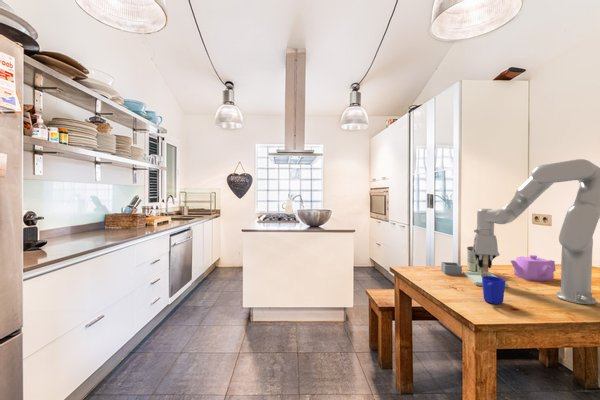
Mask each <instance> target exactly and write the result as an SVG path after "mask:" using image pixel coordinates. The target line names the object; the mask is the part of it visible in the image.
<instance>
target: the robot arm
mask: <svg viewBox="0 0 600 400" xmlns="http://www.w3.org/2000/svg"><path fill="white" fill-rule="evenodd" d="M572 181H578V183H579V188H578V190H577V192H576V196H575V200H574V202H573V205H570V207H569V208H568V209H567V211H566V214H565V217H564V220H563V223H562V225H561V229H560V232H559V235H558V242H559V243H560V245H561V261H560V267H561V268H560V291H558V292H556V293H555V296H556V297H557V298H559V299H560V300H563V301H566V302H570V303H573V304H574V303H575V304H579V305H596V304H597V300H596V298H594V297H593V292H592V274H593V273H592V270H593V269H592V267H593V248H594V247H593V246H594V239H593V236H594V234H595V232H596V231H595V230H596V229H597V228H596V227H597V225H598V223H599V220H600V167H599V166H598V165H596V164H595V163H593V162H591V161H590V160H587V159H580V158H577V159H571V160H565V161H559V162H553V163H552V162H551V163H547V164H541V165H538V166H536V167H535V168H533V169H532V171H531V175H530V176H529V178H528V179H526V180H525V181H524V183H522V184H521V185H520V186H519V187H518V188H517V189H516V191H515V193H514V196H513V197H512V199H511V200H510V201H509V202H508V203H507V204H506V205H505V206H504V207H503V208H499V209H492V208H479V209H477V211H476V229H474V230H473V232H474V233H476V234H475V235H474V240H473V246H472V247H473V250H472V251H471V254H472V255H474V256H475V257H477V259H478V265H479V267H481V268H482V267H483V260H482V254H483V255H489V261H488V269H491V268H492V265H493V263H492V261H493V260H494V259H495V258H497V257H499V256H500V255H501V254H500V253H499V251H498V247H499V246H498V240H497V235H496V234H495V225H496V224H497V225H507V224H510V223H512V222H513V221H515V220H516V219H518V217H520V216H521V215H522V214H523V213H524V212H525V211H527V209H528V208H529V207H530V206H531V205H532V204H533V203H534V202H535V201H536V200H537V199H538V198H539V197H540V196H541V195H543V193H545V191H546V190H548V189H549V188H550V187H552V185H554V184H555V183H562V182H563V183H564V182H572ZM475 253H477V254H478V255H477V254H475Z"/></svg>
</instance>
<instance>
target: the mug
mask: <svg viewBox="0 0 600 400" xmlns="http://www.w3.org/2000/svg"><path fill="white" fill-rule="evenodd" d="M505 282H506V279H504V277H503V278H502V277H498V276H496V277H494V276H483V277H482V284H483V286H482V294H483V301H485V302H487V303H489V304H493V305H500V304H501V305H502V304H503V302H504V296H505Z"/></svg>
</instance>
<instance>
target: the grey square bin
mask: <svg viewBox="0 0 600 400" xmlns="http://www.w3.org/2000/svg"><path fill="white" fill-rule="evenodd" d="M440 262H441V263H440V270H441V272H442V273H444V275H450V276H451V275H452V276H463V266H462V265H461V264H459V263H458V262H448V261H440Z"/></svg>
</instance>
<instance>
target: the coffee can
mask: <svg viewBox="0 0 600 400" xmlns="http://www.w3.org/2000/svg"><path fill="white" fill-rule="evenodd" d="M466 249H467V250H466V251H467V252H466V254H467V256H466V257H467V258H466V259H467V260H466V261H467V265H466V266H467V272H480V273H481V267H479V265H478V259H477V257H475V256H474V255H472V254H471V251H472V250H473V246H467V247H466ZM475 254H477V253H475ZM477 255H478V254H477Z"/></svg>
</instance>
